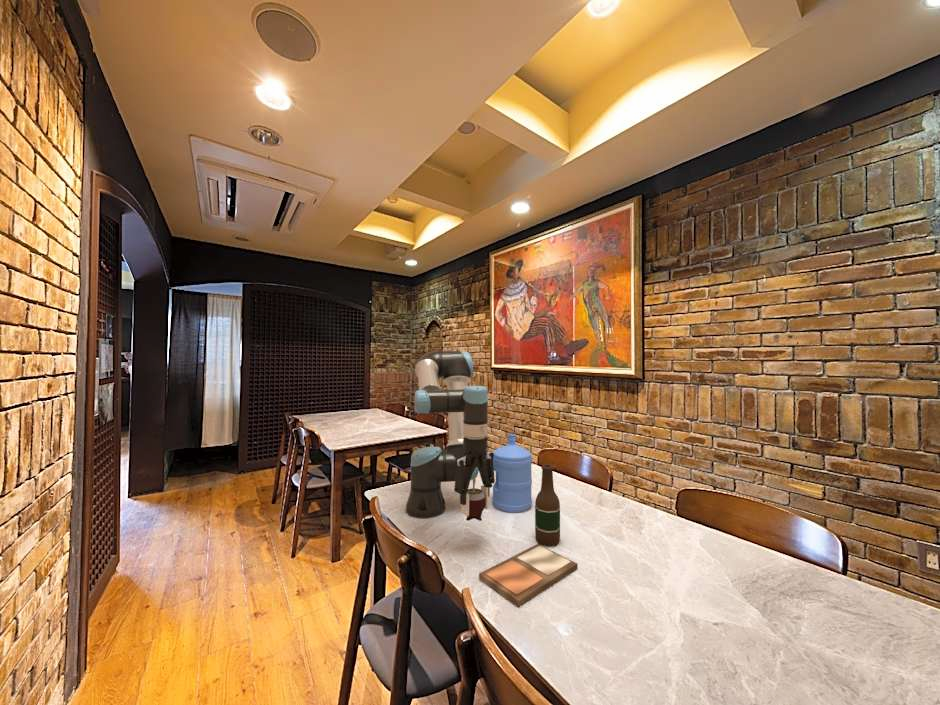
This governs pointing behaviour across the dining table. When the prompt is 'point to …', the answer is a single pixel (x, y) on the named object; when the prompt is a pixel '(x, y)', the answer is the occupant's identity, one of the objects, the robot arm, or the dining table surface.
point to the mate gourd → (475, 502)
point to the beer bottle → (547, 511)
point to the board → (527, 574)
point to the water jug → (512, 477)
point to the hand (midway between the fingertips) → (475, 510)
